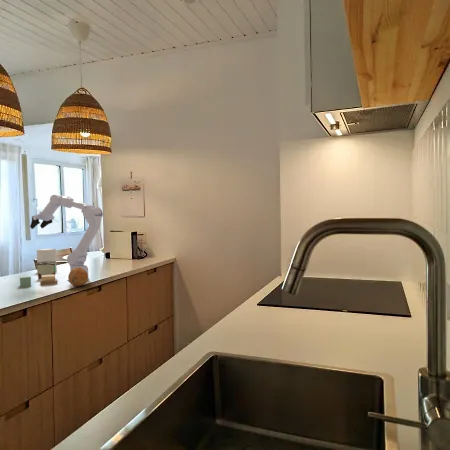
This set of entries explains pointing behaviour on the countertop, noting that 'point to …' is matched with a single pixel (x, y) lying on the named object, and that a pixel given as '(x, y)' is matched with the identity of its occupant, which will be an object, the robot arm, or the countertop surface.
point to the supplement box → (46, 255)
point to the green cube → (25, 281)
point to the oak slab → (48, 277)
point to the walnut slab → (48, 282)
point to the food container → (45, 268)
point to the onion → (78, 276)
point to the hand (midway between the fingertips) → (36, 227)
